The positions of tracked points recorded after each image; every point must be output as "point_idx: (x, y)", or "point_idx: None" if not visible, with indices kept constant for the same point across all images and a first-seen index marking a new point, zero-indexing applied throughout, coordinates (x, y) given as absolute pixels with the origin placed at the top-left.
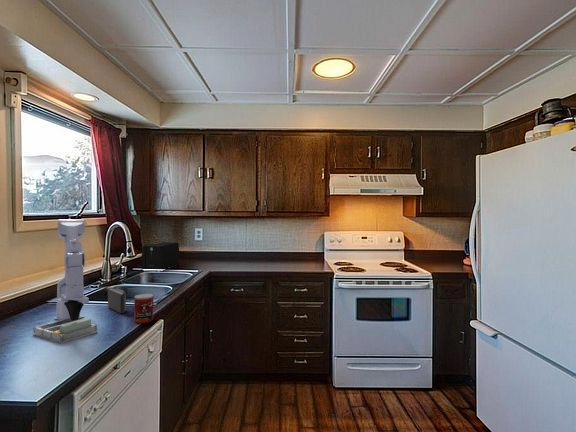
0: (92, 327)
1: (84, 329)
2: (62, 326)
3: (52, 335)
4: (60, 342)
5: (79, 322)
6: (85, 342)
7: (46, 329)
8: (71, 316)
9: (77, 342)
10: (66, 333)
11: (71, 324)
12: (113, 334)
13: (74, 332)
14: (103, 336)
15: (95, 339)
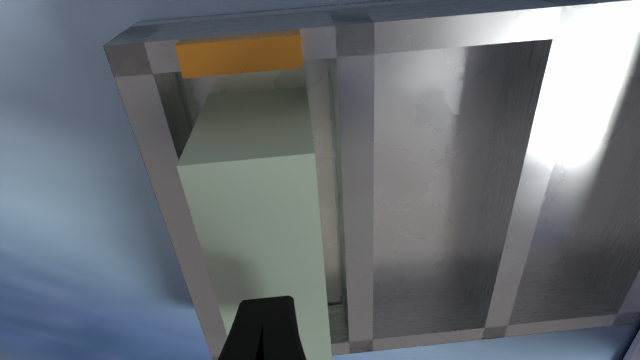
0: (208, 333)
1: (189, 281)
2: (243, 155)
3: (322, 18)
4: (153, 22)
5: (223, 320)
6: (5, 176)
7: (548, 50)
8: (244, 348)
9: (57, 135)
10: (157, 125)
11: (213, 248)
12: (78, 351)
13: (160, 196)
14: (80, 305)
15: (40, 250)
